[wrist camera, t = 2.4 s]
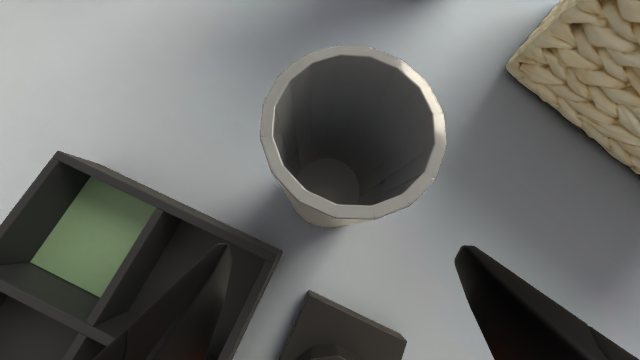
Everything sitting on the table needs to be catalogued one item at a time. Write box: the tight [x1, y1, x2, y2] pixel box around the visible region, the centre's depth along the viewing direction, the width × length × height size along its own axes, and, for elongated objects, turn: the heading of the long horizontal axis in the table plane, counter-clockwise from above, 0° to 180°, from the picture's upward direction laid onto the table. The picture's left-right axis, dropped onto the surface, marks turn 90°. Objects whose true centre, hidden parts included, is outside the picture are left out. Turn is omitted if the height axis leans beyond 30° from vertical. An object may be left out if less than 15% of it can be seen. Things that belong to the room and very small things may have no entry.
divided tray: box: [0, 151, 283, 360], centre depth 16 cm, size 18×18×4 cm
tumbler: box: [260, 45, 447, 227], centre depth 14 cm, size 6×6×13 cm
